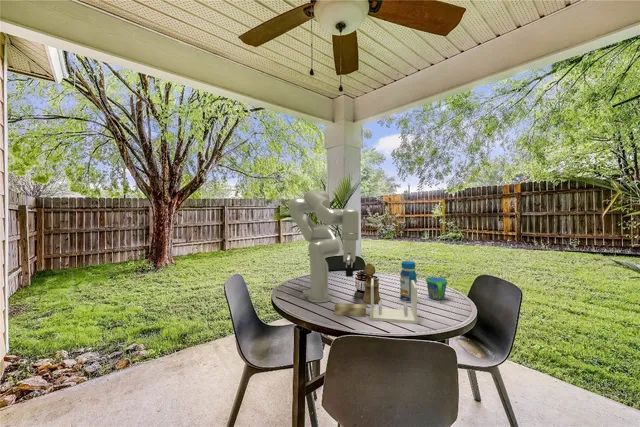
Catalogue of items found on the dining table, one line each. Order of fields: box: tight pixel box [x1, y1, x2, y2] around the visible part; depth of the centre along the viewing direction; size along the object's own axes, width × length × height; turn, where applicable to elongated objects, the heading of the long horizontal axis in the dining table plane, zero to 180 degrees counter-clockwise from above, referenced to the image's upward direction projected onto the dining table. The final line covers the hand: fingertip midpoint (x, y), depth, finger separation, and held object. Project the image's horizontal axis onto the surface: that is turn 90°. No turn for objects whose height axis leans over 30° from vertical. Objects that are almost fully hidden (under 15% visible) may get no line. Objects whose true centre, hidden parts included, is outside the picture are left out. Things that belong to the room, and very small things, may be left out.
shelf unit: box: [369, 278, 419, 325], centre depth 125 cm, size 20×12×15 cm, turn 78°
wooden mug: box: [362, 263, 382, 305], centre depth 148 cm, size 9×14×18 cm, turn 179°
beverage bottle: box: [399, 260, 418, 303], centre depth 147 cm, size 8×8×20 cm
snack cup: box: [425, 276, 449, 301], centre depth 150 cm, size 16×10×10 cm
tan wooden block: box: [333, 302, 367, 318], centre depth 129 cm, size 14×5×4 cm, turn 78°
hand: (350, 273), depth 129 cm, fingers open, 9 cm apart
